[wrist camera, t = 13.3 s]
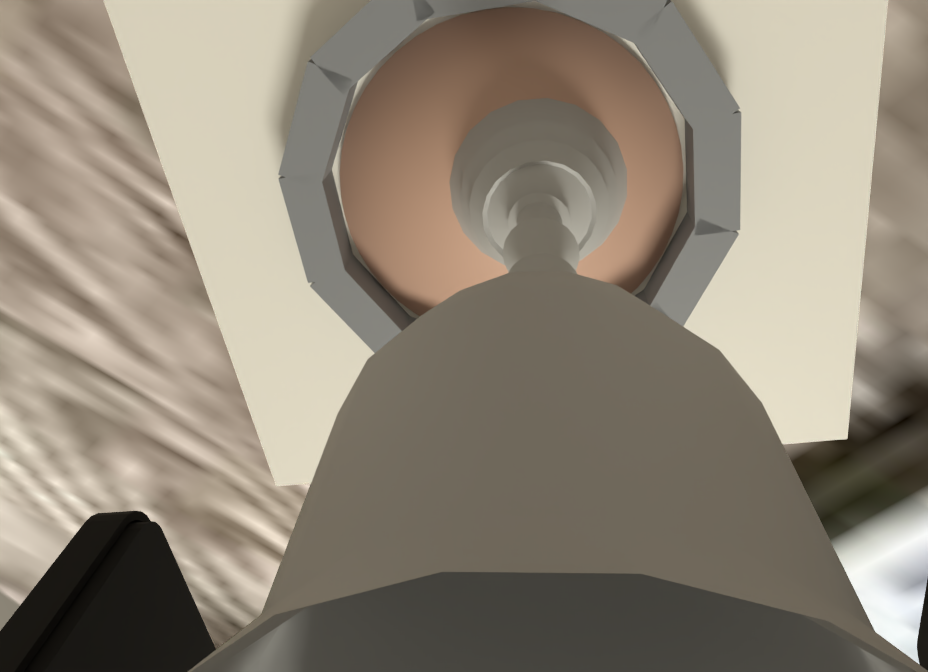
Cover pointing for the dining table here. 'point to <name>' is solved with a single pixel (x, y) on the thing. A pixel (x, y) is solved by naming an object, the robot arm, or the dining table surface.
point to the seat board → (443, 131)
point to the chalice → (554, 470)
